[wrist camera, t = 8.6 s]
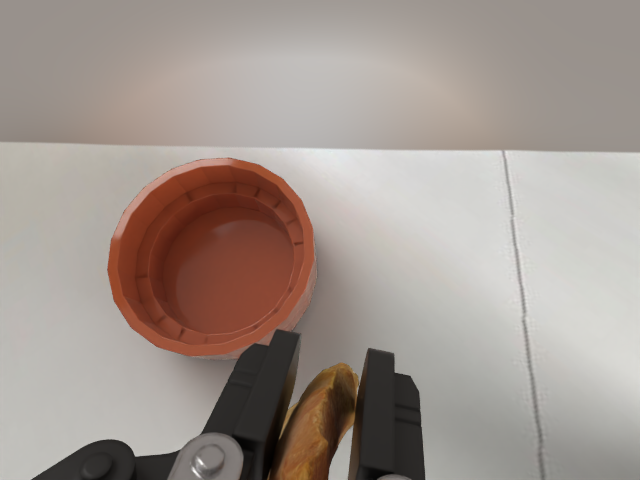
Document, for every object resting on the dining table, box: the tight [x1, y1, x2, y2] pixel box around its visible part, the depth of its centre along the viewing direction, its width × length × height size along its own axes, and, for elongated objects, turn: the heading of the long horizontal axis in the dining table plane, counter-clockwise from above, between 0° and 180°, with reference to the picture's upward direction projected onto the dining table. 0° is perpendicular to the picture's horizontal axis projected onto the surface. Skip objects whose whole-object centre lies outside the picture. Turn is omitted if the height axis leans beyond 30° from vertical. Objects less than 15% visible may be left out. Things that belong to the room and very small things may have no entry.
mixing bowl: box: [107, 158, 317, 360], centre depth 36 cm, size 17×17×7 cm
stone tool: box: [267, 363, 359, 480], centre depth 14 cm, size 5×2×15 cm, turn 143°
